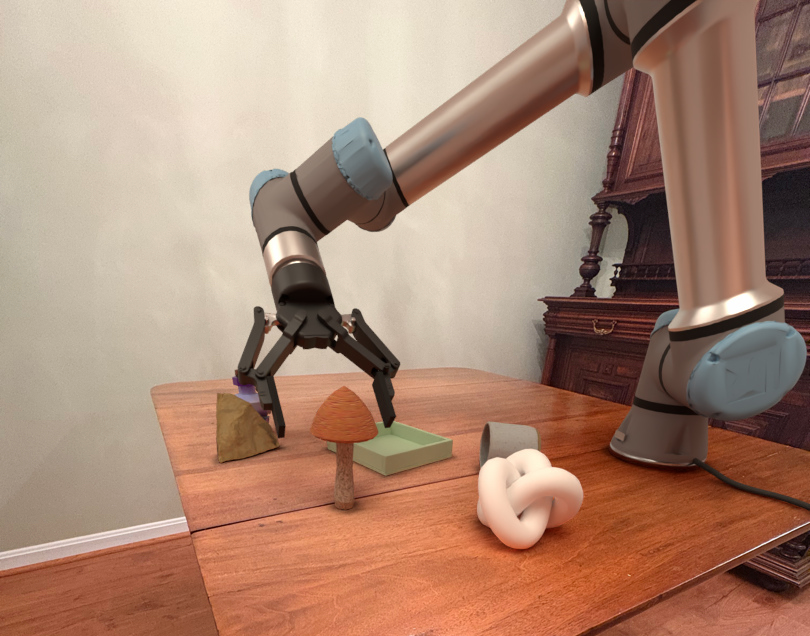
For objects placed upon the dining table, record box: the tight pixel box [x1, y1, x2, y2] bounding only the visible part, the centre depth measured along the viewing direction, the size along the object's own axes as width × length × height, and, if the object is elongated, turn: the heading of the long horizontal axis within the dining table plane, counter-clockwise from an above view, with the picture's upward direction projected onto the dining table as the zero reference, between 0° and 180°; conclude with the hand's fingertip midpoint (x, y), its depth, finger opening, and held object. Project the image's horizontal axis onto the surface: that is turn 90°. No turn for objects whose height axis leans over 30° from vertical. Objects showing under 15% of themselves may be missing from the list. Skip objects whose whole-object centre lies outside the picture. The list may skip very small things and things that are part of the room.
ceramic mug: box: [478, 420, 542, 469], centre depth 67 cm, size 11×8×8 cm
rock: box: [215, 392, 281, 464], centre depth 71 cm, size 11×9×10 cm
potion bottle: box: [231, 368, 272, 424], centre depth 79 cm, size 9×9×12 cm
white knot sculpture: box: [476, 449, 584, 550], centre depth 48 cm, size 11×12×9 cm
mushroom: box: [309, 385, 378, 510], centre depth 51 cm, size 8×8×15 cm
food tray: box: [326, 420, 454, 477], centre depth 73 cm, size 17×15×3 cm
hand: (338, 427), depth 51 cm, fingers open, 13 cm apart
